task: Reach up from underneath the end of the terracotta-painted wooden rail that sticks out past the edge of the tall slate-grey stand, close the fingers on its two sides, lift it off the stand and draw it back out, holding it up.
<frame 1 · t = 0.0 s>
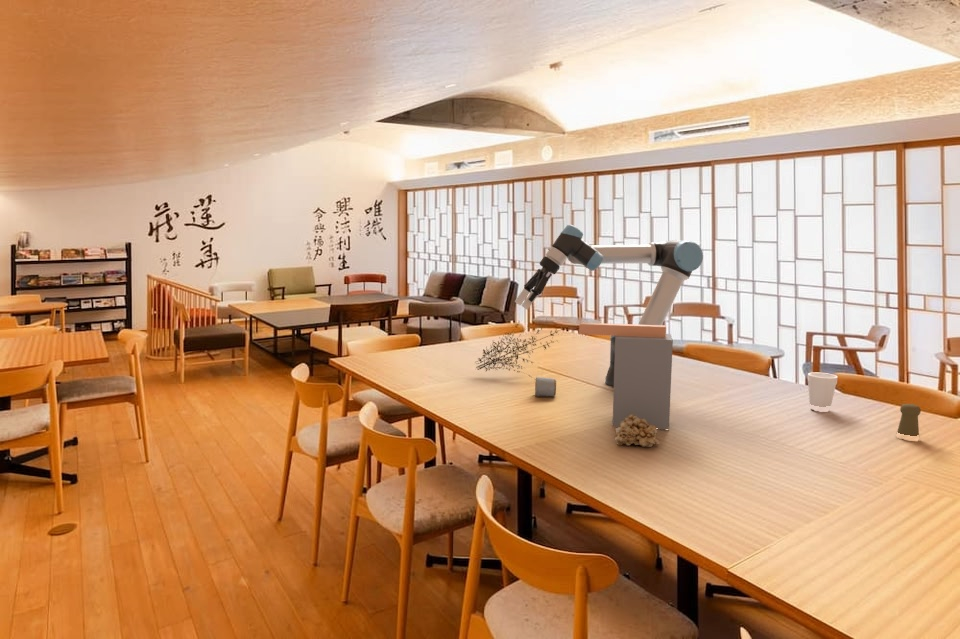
hand: (520, 305, 237), 36 cm above the table, tool tilted 35°, fingers open, 13 cm apart
stand: (640, 422, 207), on the table
ceramic mug: (544, 395, 243), on the table
mineral formation: (637, 443, 188), on the table
dried plant: (520, 377, 275), on the table
olive pepper mill: (907, 439, 192), on the table
rail: (621, 335, 205), point 30 cm above the table, touching stand
foam cup: (819, 410, 222), on the table
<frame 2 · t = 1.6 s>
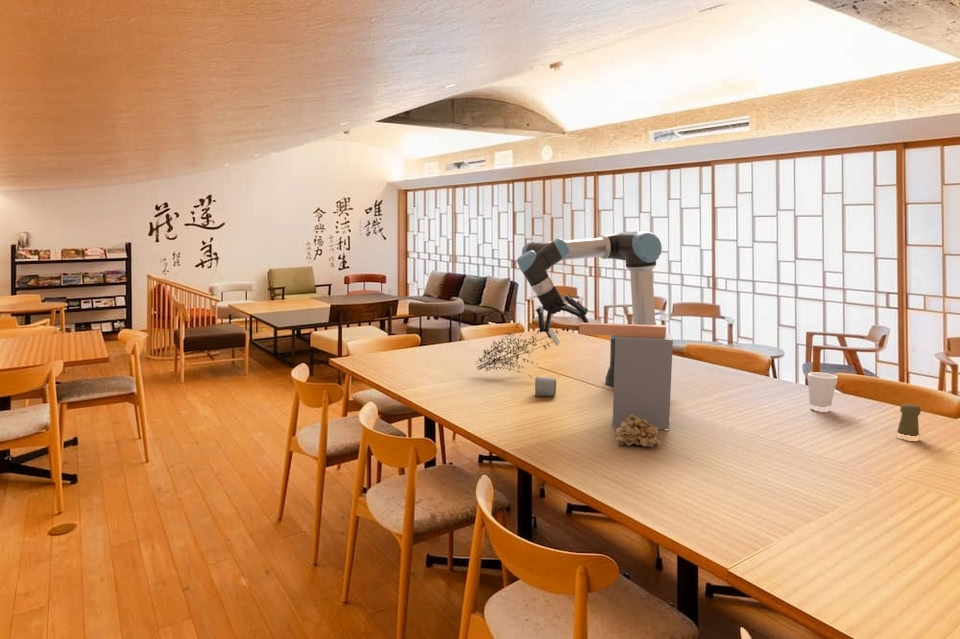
hand: (573, 338, 228), 25 cm above the table, tool tilted 30°, fingers open, 13 cm apart
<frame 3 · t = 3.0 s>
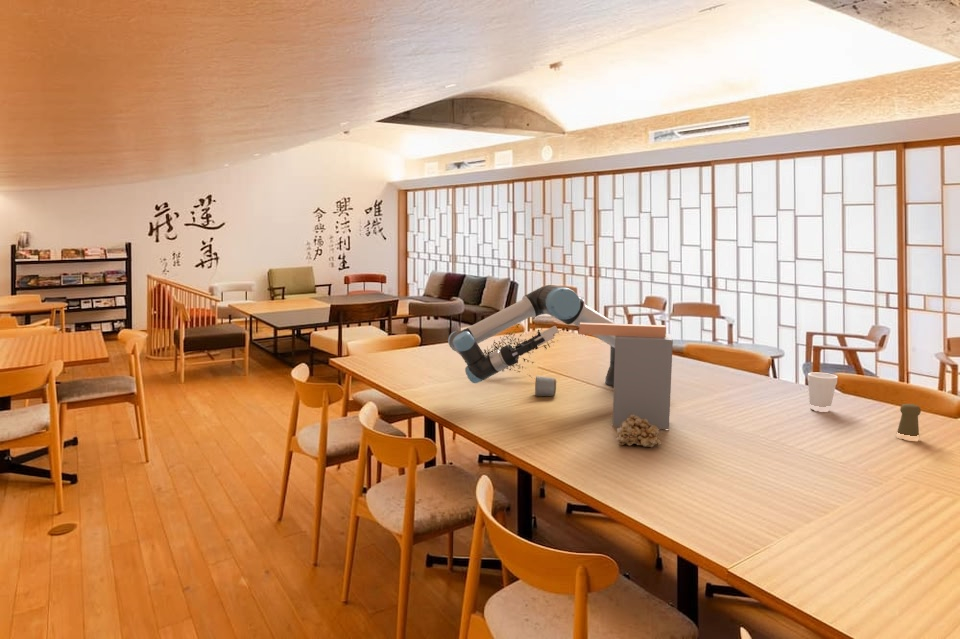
hand: (555, 331, 220), 29 cm above the table, tool pointing upward, fingers open, 13 cm apart
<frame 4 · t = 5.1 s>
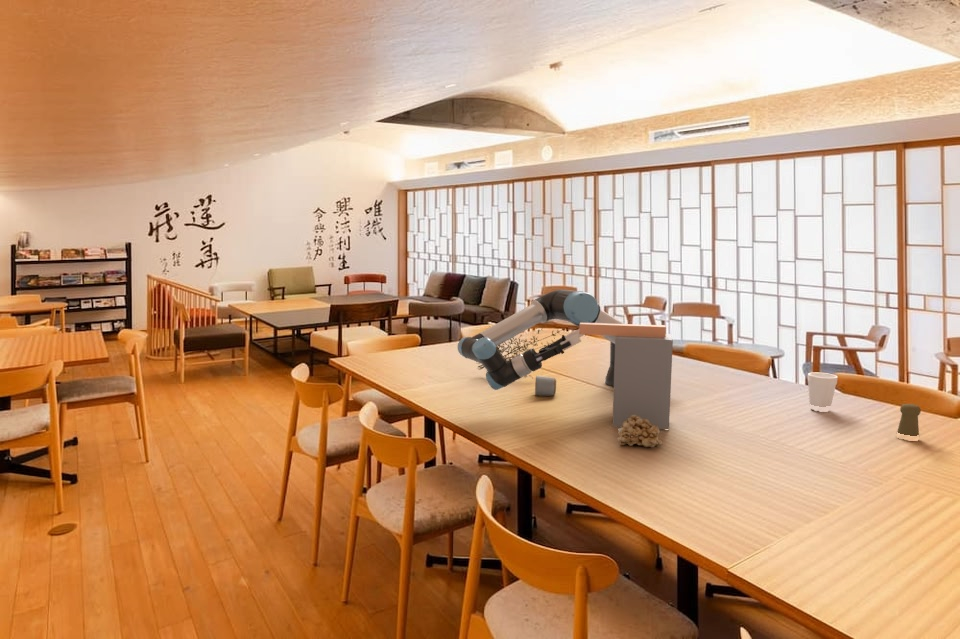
hand: (581, 334, 207), 30 cm above the table, tool pointing upward, fingers open, 13 cm apart
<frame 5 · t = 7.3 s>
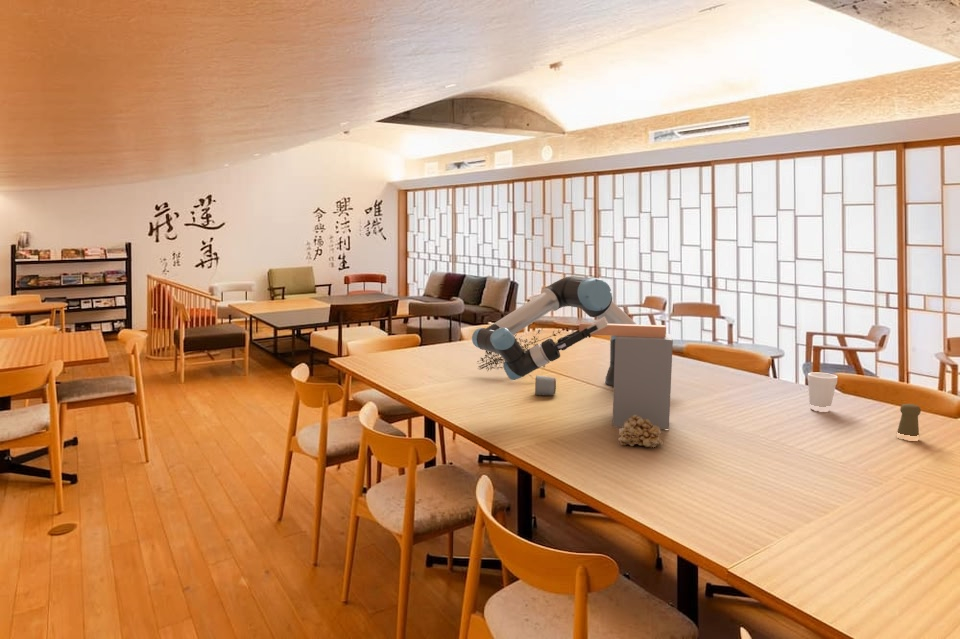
hand: (606, 321, 205), 35 cm above the table, tool pointing upward, fingers closed on rail, 3 cm apart
rail: (621, 335, 205), point 30 cm above the table, touching gripper, stand
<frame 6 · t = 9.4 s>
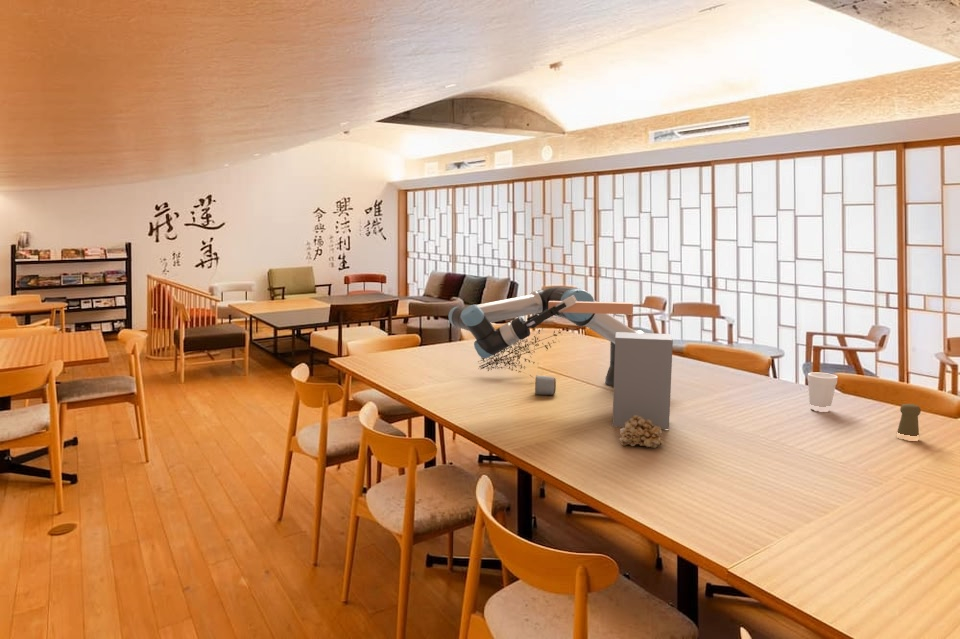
hand: (574, 298, 207), 42 cm above the table, tool pointing upward, fingers closed on rail, 3 cm apart
rail: (590, 312, 207), point 37 cm above the table, touching gripper
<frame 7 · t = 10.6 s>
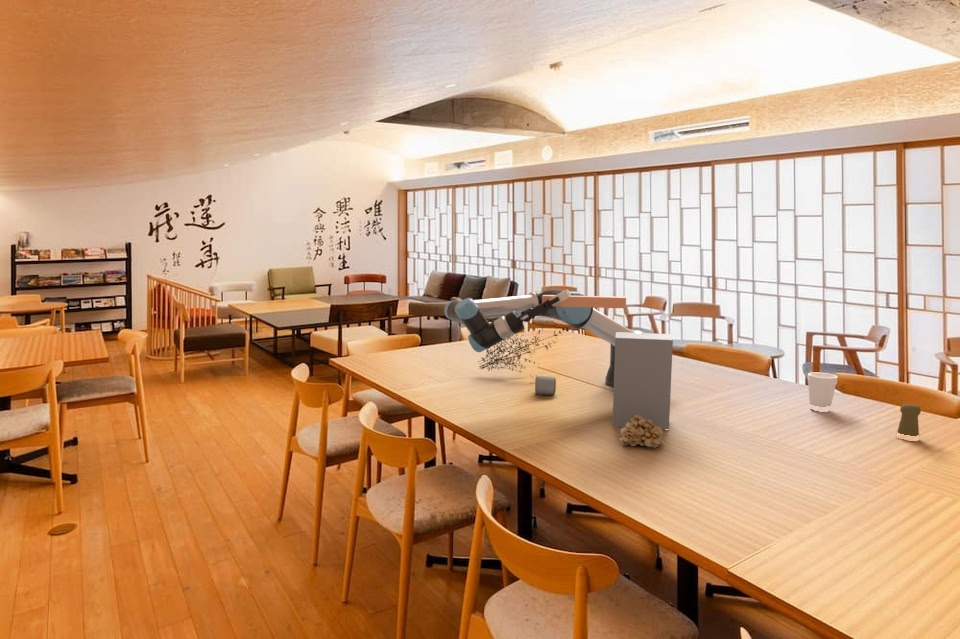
hand: (568, 293, 208), 44 cm above the table, tool pointing upward, fingers closed on rail, 3 cm apart
rail: (583, 306, 207), point 39 cm above the table, touching gripper
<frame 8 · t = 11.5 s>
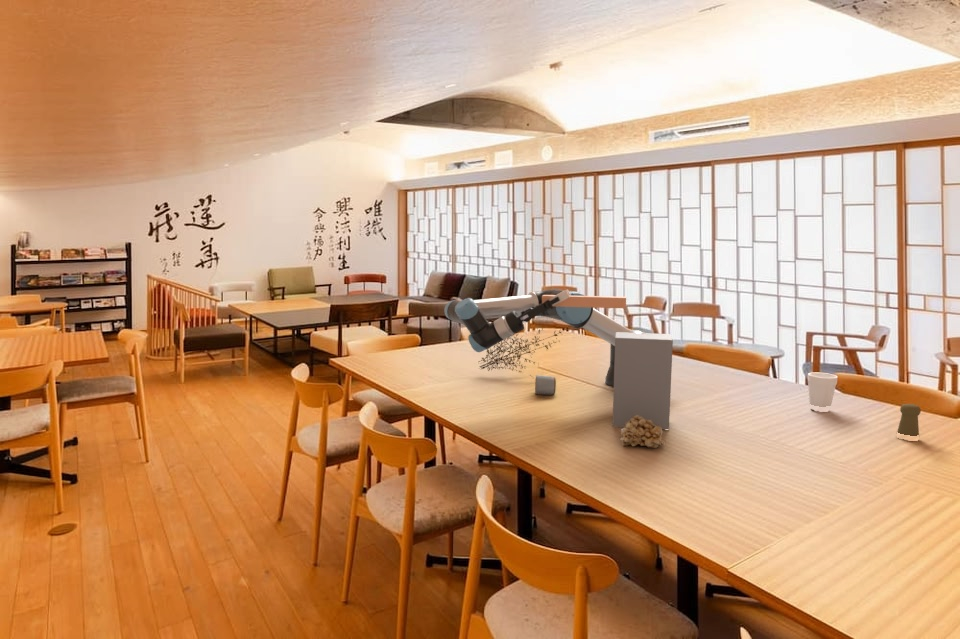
hand: (568, 293, 208), 44 cm above the table, tool pointing upward, fingers closed on rail, 3 cm apart
rail: (583, 306, 207), point 39 cm above the table, touching gripper
at the end: the gripper is holding rail; rail point 39.1 cm above the table; rail moved 15.9 cm from its start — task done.
